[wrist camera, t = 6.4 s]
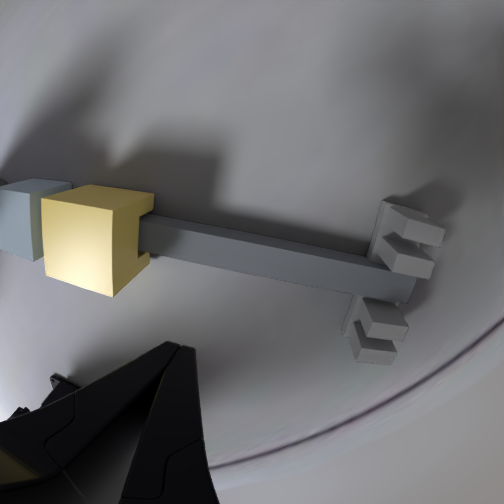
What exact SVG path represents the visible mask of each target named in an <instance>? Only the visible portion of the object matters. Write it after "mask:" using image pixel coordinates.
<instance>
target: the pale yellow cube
mask: <svg viewBox="0 0 504 504" xmlns="http://www.w3.org/2000/svg"><path fill="white" fill-rule="evenodd" d="M153 205H154V194H153V193H146V192H140V191H133V190H126V189H120V188H112V187H105V186H98V185H91V184H90V185H86V186H82V187H78V188H74V189H71V190H67V191H64V192H60V193H57V194H53V195H50V196H47V197H43V198H41V216H42V237H43V251H44V261H45V271H46V275H47V276H50V277H53V278H55V279H58V280H61V281H64V282H67V283H70V284H73V285H76V286H79V287H82V288H85V289H88V290H91V291H94V292H98V293H101V294H104V295H107V296H111V297H114V296H115V295H116V294H117V293H118V292H119V291H120V290H121V289H122V288H123V287H124V286H126V285H127V284H128V283H129V282H130V281H131V280H132V279H133V278H134V277H135V276H136V275H137V274H139V273H140V272H141V271H142V270H143V269H144V268H145V267H146V266H147V265H148V264H149V263H150V253H148V252H143V251H139V250H138V232H139V217H140V216H142V215H143V214H145V213H147V212H149V211H151V210H153Z"/></svg>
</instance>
